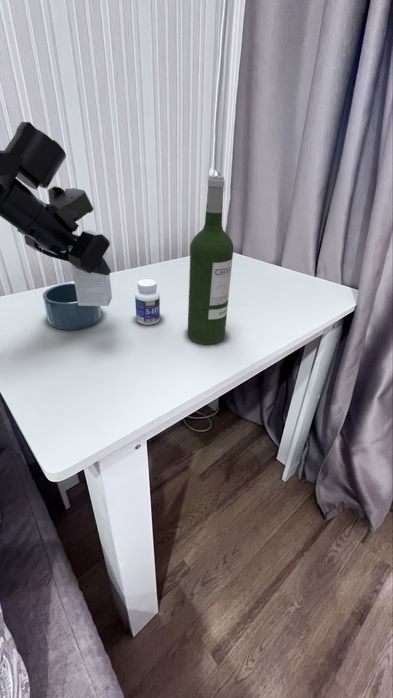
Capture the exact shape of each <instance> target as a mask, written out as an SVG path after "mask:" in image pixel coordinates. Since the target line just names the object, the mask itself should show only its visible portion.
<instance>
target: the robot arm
mask: <svg viewBox="0 0 393 698" xmlns="http://www.w3.org/2000/svg"><path fill="white" fill-rule="evenodd" d="M66 159H67V154H66V152H65V150H64V148H63V147H62V146H61V145H60V144H59V143H58V142H57V141H56V140H55V139H52V138H51V137H50V136H48V135H47V134H46V133H45V132H43V131H42V130H40V129H38V128H36V127H35V126H34V125H33V123H31V122H30V121H21V122H20V123H19V125H18V126H17V128H16V130H15V133H14V135H13V136H12V138H11V139H10V141H9V143H8V144H7V146H6V148H5V149H4V150H0V217H1V218H2V219H3V220H5V221H6V222H7V223H9V224H10V225H12V226H13V227H14V228H16V231H17V232H18V233H19V234H21V235H23V237H24V242H25V245H27V246H28V247H30V248H31V249H32V250H34V251H36V252H38V253H42V254H43V255H45V256H47V257H50V258H54V259H57V260H61V261H65V262H68V263H69V264H72V265H74V266H75V268H77V269H80V270H82V271H85V272H87V273H89V274H90V273H98V274H102V275H107V276H108V275H109V274H110V275H111V273H112V270H111V268H110V266H108V265H107V263H106V261H105V260H104V258H103V255H104V254H105V252H106V250H107V251H108V249H109V247H110V246H111V241H110V240H109V239H108V238H107V237H106V236H105V235H104V234H103V233H100V232H96V231H93V230H90V229H87V230H82V231H81V233H80V234H79V235H78V234H75V233H74V232H76V231H77V230H78V228H79V227H80V225H79V224H78V223H77V221H80V220H81V219H82V218H83V217H85V216H86V215H88V214H91V213H92V212H93V211H94V206H93V204H92V202H91V200H90V198H89V196H88V194H87V193H86V190H84V189H79V188H74V187H70V188H65V189H63V188H62V187H61V186H56V185H53V186H52V187H49V186H50V184H51V182H52V181H53V179H55V176H57V173H58V172H59V170H60V169H61V168H62V166H63V164H64V162H66ZM28 187H29V188H28ZM39 187H40V188H42V189H44V190H45V189H47V192H48V202H49V203H46V202H45V201H43V200H42V199H41V198H40V197H39V196H38V195H36V193H34V192H33V191H31V189H33V190H38V188H39ZM48 187H49V189H48ZM30 188H31V189H30ZM69 248H71V250H70V252H69ZM72 265H71V266H72Z"/></svg>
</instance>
